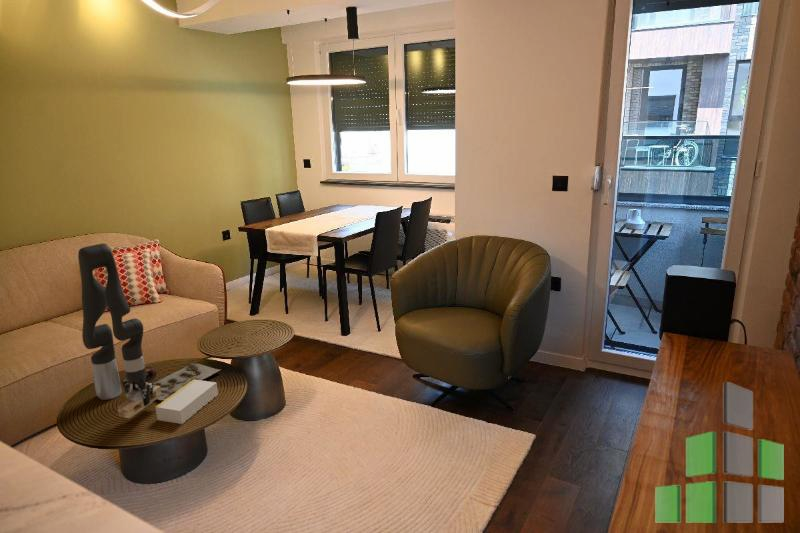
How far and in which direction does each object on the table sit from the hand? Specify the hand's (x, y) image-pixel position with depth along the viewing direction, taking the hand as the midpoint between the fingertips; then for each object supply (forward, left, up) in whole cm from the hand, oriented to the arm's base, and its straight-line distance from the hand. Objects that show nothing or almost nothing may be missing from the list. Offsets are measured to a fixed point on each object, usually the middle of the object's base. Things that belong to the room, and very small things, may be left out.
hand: (141, 403), depth 208 cm
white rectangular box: (+14, +11, -6) cm, 19 cm away
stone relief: (-4, +28, -6) cm, 29 cm away
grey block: (0, -2, +4) cm, 4 cm away
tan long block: (0, 0, -1) cm, 1 cm away
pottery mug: (-21, +26, -6) cm, 34 cm away
